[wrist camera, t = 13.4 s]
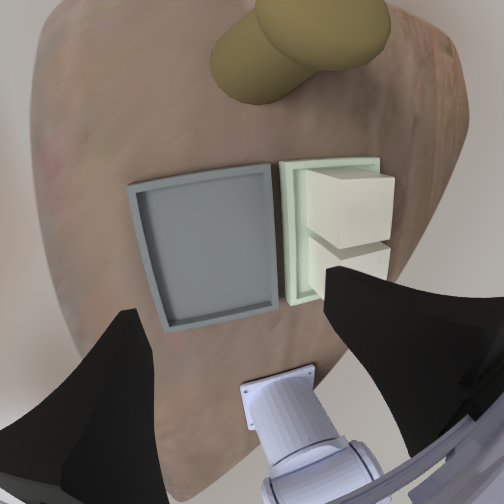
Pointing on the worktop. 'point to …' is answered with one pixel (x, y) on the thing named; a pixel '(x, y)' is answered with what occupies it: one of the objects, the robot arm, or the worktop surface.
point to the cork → (296, 45)
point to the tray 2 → (305, 218)
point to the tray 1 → (208, 244)
